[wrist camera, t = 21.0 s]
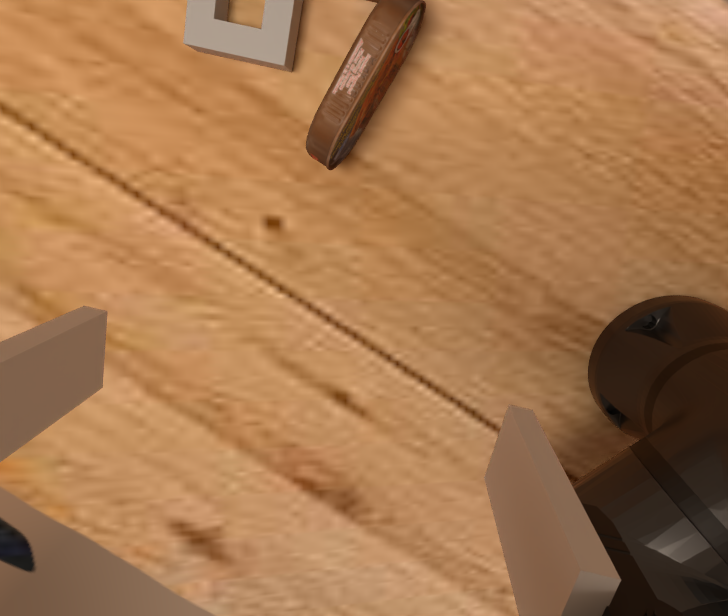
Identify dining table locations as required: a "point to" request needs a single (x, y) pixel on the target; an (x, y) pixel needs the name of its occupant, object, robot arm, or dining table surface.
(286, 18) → the socket block
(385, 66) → the tin
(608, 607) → the robot arm
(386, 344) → the dining table surface
